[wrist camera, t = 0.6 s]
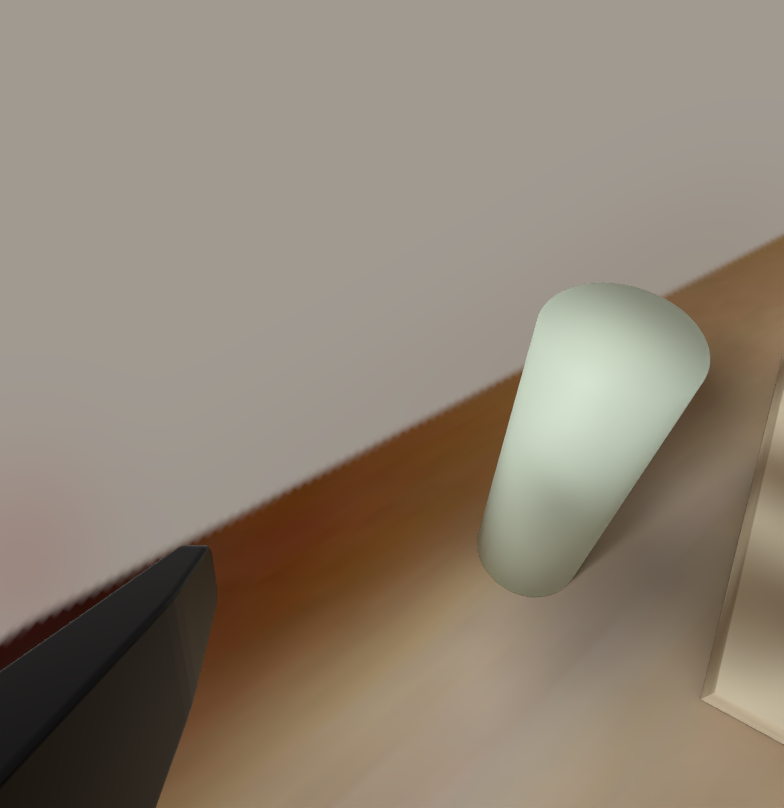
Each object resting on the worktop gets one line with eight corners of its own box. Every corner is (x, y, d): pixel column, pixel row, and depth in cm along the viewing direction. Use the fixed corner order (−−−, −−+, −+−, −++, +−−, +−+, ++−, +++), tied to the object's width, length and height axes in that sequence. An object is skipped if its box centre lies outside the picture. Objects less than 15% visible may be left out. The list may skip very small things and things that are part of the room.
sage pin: (597, 582, 25) (746, 386, 14) (498, 608, 24) (581, 423, 14) (553, 492, 27) (653, 271, 17) (463, 514, 27) (510, 297, 16)
